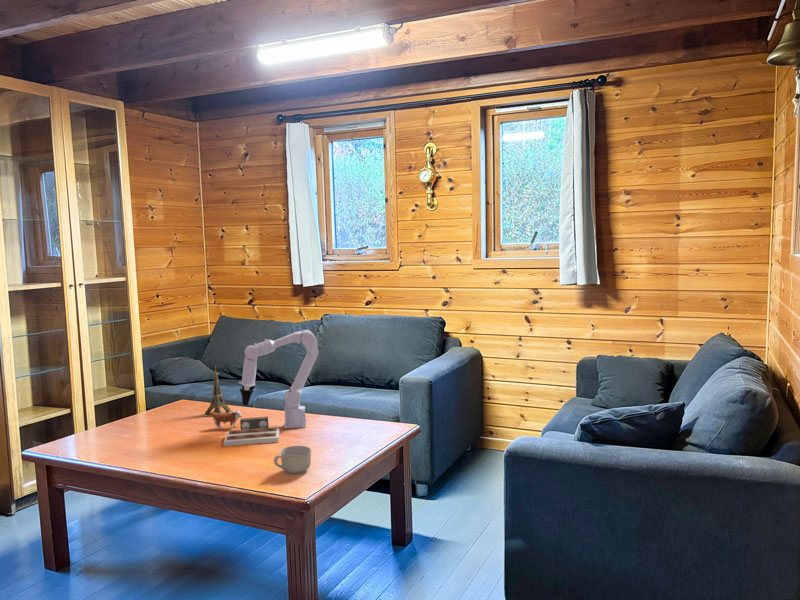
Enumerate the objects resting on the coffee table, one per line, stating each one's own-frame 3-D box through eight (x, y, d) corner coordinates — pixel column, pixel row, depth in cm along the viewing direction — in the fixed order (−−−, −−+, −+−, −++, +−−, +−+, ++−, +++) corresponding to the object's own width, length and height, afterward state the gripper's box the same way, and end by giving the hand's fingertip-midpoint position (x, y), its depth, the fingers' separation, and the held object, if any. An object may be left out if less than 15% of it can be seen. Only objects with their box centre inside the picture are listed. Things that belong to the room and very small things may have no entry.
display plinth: (279, 432, 274) (279, 425, 274) (278, 442, 260) (278, 434, 260) (227, 436, 270) (227, 429, 270) (224, 446, 257) (223, 438, 256)
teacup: (306, 464, 232) (305, 443, 231) (316, 472, 222) (315, 450, 222) (269, 471, 225) (268, 449, 225) (278, 480, 216) (277, 458, 215)
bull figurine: (242, 429, 282) (241, 411, 281) (212, 429, 282) (211, 412, 281) (244, 426, 286) (243, 408, 286) (215, 427, 286) (214, 409, 286)
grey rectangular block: (268, 428, 282) (268, 416, 281) (268, 430, 279) (267, 418, 278) (241, 430, 280) (240, 418, 280) (240, 432, 277) (240, 420, 276)
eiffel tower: (216, 410, 317) (213, 362, 315) (233, 412, 313) (230, 362, 311) (202, 416, 308) (199, 365, 306) (219, 417, 304) (216, 366, 302)
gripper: (241, 369, 284) (238, 398, 284) (238, 374, 269) (235, 406, 270) (257, 370, 285) (254, 400, 285) (255, 376, 271) (251, 407, 271)
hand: (245, 403), depth 278 cm, fingers open, 7 cm apart
